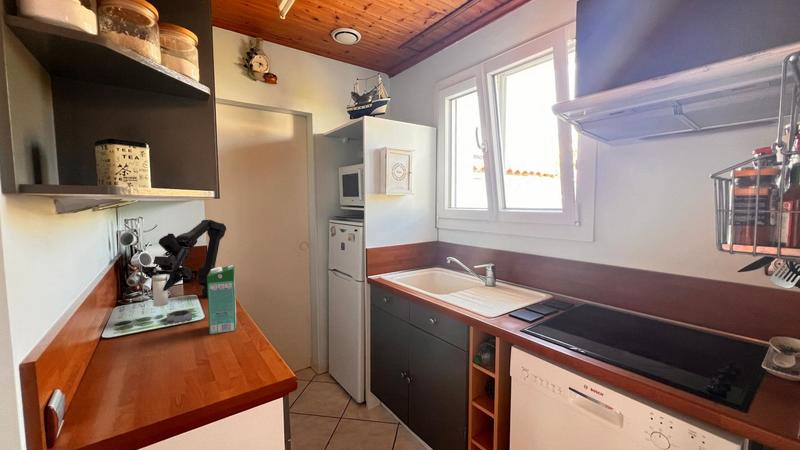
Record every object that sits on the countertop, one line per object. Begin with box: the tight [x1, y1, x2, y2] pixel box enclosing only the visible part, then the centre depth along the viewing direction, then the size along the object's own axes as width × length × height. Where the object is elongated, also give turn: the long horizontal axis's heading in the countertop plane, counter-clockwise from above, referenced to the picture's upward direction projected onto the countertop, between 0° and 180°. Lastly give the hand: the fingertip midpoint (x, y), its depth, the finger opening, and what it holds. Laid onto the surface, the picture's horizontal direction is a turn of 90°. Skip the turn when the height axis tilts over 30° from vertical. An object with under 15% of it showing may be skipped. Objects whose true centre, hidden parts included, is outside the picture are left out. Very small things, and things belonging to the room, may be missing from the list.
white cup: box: [151, 274, 169, 308], centre depth 137 cm, size 5×5×12 cm
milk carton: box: [207, 264, 237, 335], centre depth 129 cm, size 9×9×25 cm
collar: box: [165, 309, 193, 325], centre depth 139 cm, size 9×9×3 cm
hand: (157, 290), depth 135 cm, fingers closed on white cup, 5 cm apart
